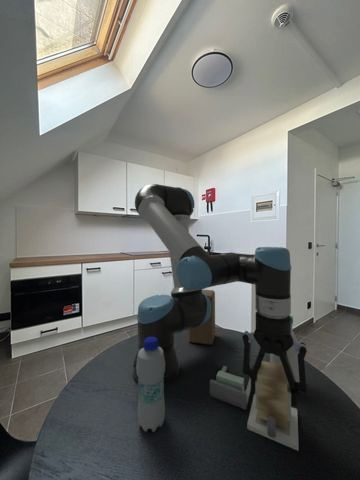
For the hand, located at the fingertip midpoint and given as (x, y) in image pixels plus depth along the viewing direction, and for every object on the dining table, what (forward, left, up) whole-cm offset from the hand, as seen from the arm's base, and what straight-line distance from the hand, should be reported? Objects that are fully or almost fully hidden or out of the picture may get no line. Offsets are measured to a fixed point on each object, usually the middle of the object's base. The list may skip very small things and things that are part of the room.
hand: (273, 410), depth 48 cm
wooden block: (-30, +28, -2) cm, 41 cm away
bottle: (-25, -14, -3) cm, 29 cm away
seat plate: (0, 0, -2) cm, 2 cm away
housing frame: (-11, +6, -2) cm, 13 cm away
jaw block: (0, 0, 0) cm, 0 cm away
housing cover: (-11, +3, -2) cm, 12 cm away
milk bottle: (+2, +15, -3) cm, 16 cm away
